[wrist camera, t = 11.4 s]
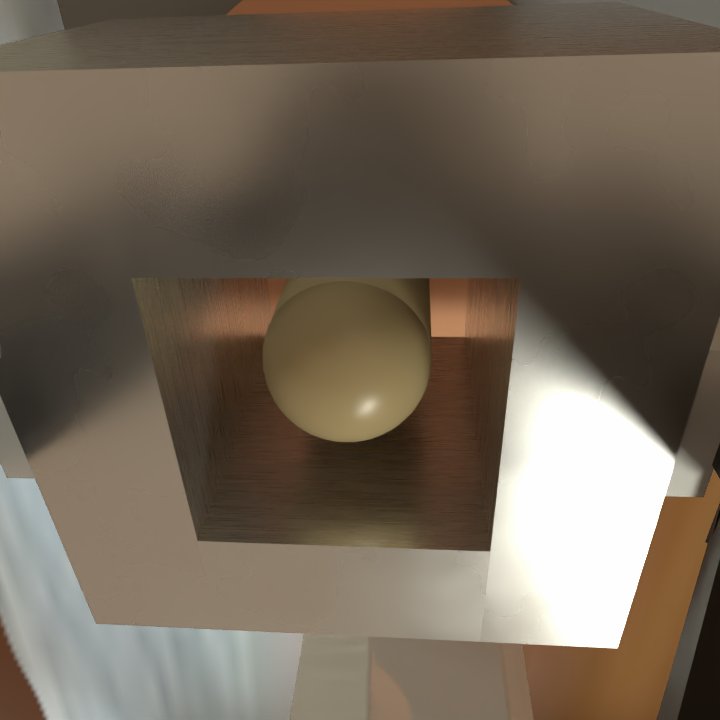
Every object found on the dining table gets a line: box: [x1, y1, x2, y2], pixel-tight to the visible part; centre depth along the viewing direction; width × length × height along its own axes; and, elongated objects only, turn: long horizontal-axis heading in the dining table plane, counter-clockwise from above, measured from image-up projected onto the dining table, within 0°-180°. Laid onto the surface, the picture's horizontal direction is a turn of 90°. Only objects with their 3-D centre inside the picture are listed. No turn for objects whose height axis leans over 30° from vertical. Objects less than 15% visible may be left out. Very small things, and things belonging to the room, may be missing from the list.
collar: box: [0, 2, 720, 648], centre depth 12 cm, size 10×10×7 cm
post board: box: [58, 0, 720, 442], centre depth 14 cm, size 30×14×10 cm, turn 92°
